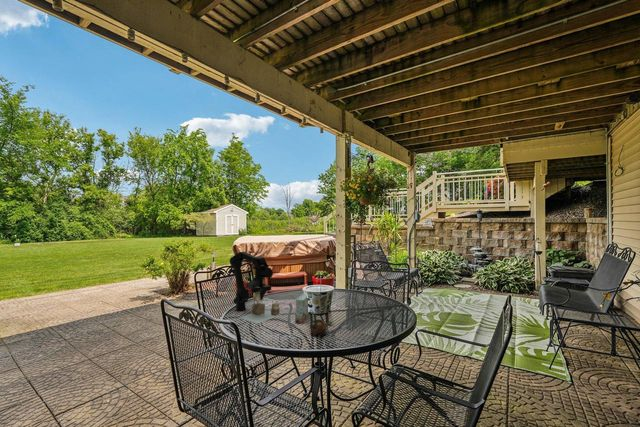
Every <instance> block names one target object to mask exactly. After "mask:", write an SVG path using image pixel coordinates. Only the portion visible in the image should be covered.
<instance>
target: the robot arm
mask: <svg viewBox="0 0 640 427" xmlns="http://www.w3.org/2000/svg"><path fill="white" fill-rule="evenodd" d="M244 260H245V261H248V262H250V263H251V264H252V265H253V267H252V269H253V270H254V277H253V279H252V280H251V281H249V282H247V283H246V287H245V282H244V277H243V273H242V266H243V261H244ZM229 264H230V267H231V268H232V269H233V273H234V277H235V284H236V289H237V290H236V293H235V298H234V299H233V304H235V310H236V312H245V311H246V303H247V302H248V301H249V298H250V293H249V289H250V290H251V291H252V293H256V292H260V300H262V299H263V297H264V298H265V294H266V293H267V292H268V291H269V292H270V291H272V286H271V285H270V284H269V285H268V284H266V285H265V283H264V280H265V279H266V278H267V279H271V278H272V277H273V274H274V271H273V270H272V268H271V267H269V266H268V263H267V261H266V258H265V257H263V256H255V255H253V254H250V253H248V252H246V251H240V252H238V253H236V254H234V255H233V256H231V257H230V259H229ZM247 288H248V289H247Z"/></svg>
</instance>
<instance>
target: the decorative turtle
mask: <svg viewBox="0 0 640 427" xmlns="http://www.w3.org/2000/svg"><path fill="white" fill-rule="evenodd" d="M327 327H328V326H327V323H326V322H325V321H323V319H318V318H317V319H314V320H312V321H311V322H310V324H309V329H310V331H311V332H312V333H311V334H312V335H313V336H314V337H315V336H317V335H318V334H320V335H321V336H324V335H325V333H326V330H327Z"/></svg>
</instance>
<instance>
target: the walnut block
mask: <svg viewBox="0 0 640 427" xmlns="http://www.w3.org/2000/svg"><path fill="white" fill-rule="evenodd" d="M251 309H252V310H251V313H252V314H255V315H261V314H264V313H265V310H266V304H265V303H260V302H256V303H254V304H252V305H251Z"/></svg>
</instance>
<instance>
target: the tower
mask: <svg viewBox="0 0 640 427" xmlns="http://www.w3.org/2000/svg"><path fill="white" fill-rule="evenodd" d="M270 311H271V315H274V316H276V315H279V314H280V302H272V303H271V309H270ZM279 316H280V315H279ZM276 317H277V316H276Z"/></svg>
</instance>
